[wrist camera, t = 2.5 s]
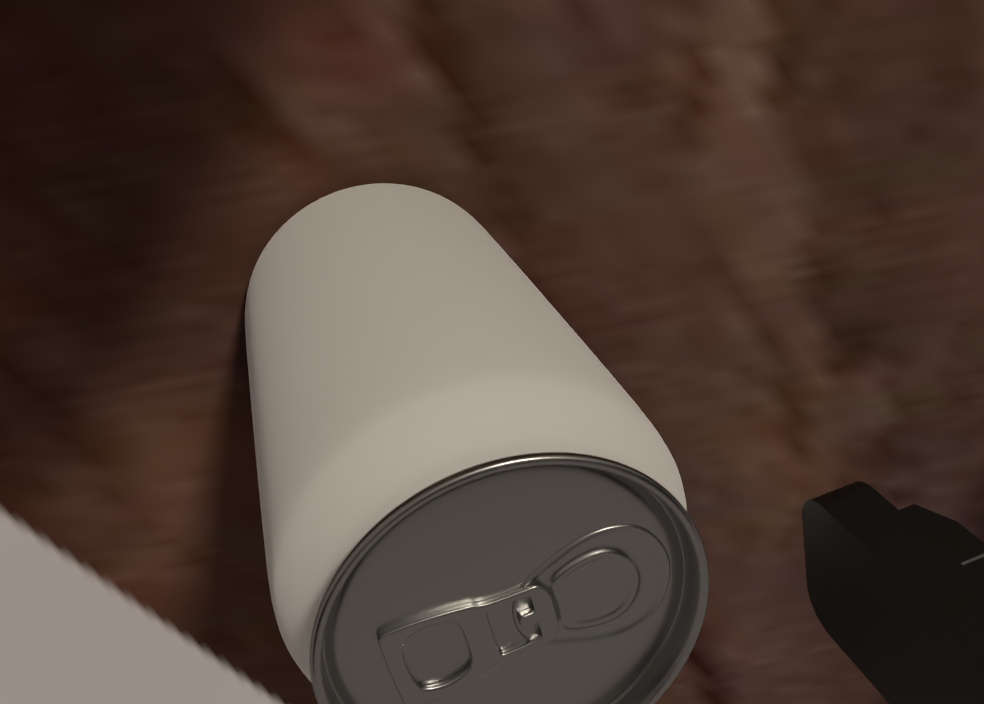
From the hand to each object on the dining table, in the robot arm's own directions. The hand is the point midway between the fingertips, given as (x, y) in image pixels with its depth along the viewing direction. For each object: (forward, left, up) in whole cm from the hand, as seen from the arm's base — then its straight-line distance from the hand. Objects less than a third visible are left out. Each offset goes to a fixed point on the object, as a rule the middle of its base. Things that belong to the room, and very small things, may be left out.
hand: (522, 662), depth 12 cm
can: (0, 0, -13) cm, 13 cm away
